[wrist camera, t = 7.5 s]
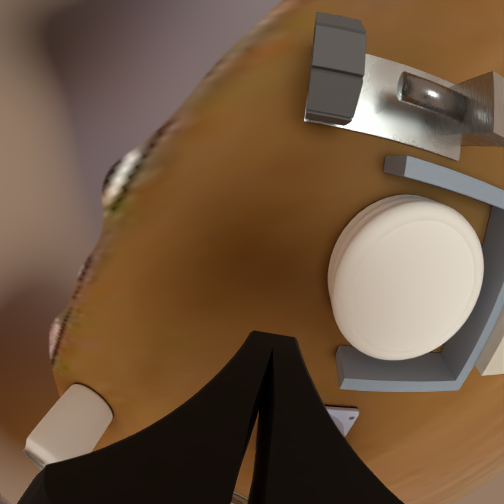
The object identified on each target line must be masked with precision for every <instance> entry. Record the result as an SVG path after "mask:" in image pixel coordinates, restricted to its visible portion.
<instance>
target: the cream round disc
mask: <svg viewBox="0 0 504 504" xmlns="http://www.w3.org/2000/svg"><path fill="white" fill-rule="evenodd" d="M483 273H484V260H483V253H482V248H481V245H480V241H479V239H478V237H477V235H476V233H475V231H474V229H473V228H472V227H471V225H470V224H469V222H468V221H467V220H466V219H465V218H464V217H463V216H462V215H461V214H460V213H458V212H457V211H456V210H454V209H453V208H451V207H449V206H447V205H445V204H442V203H439V202H437V201H434V200H431V199H429V198H426V197H422V196H418V195H409V194H406V195H395V196H391V197H387V198H384V199H382V200H379V201H377V202H375V203H373V204H371V205H369V206H367V207H366V208H365V209H363V210H362V211H361V212H359V213H358V214H357V215H356V216H355V217H354V218H353V219H352V220H351V221H350V222H349V224H348V225H347V226H346V227H345V228H344V230H343V231H342V233H341V235H340V236H339V238H338V240H337V242H336V244H335V246H334V249H333V252H332V255H331V258H330V263H329V268H328V289H329V295H330V299H331V304H332V309H333V314H334V318H335V321H336V323H337V325H338V327H339V330H340V331H341V333H342V334H343V336H344V337H345V338H346V339H347V340H348V341H349V342H350V343H351V345H352V346H354V347H355V348H356V349H358V350H359V351H361V352H362V353H364V354H366V355H368V356H371V357H374V358H378V359H383V360H405V359H410V358H414V357H417V356H421V355H423V354H426V353H428V352H430V351H432V350H434V349H435V348H437V347H439V346H440V345H442V344H443V343H445V342H446V341H447V340H448V339H450V338H451V337H452V336H453V335H454V334H455V333H456V332H457V331H458V330H459V329H460V328H461V326H462V325H463V324H464V323H465V321H466V320H467V318H468V317H469V315H470V314H471V312H472V310H473V308H474V306H475V304H476V301H477V299H478V296H479V293H480V290H481V286H482V281H483Z"/></svg>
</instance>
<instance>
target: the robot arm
mask: <svg viewBox="0 0 504 504" xmlns="http://www.w3.org/2000/svg"><path fill="white" fill-rule="evenodd" d="M258 411H259V417H258V429H257V441H256V450H255V463H254V472H253V479H252V484H251V489H250V493H249V498H248V502H247V504H404V503H403V502H402V501H401V500H400V499H398V498H397V497H396V496H395V495H394V494H393V493H392V492H391V491H390V490H389V489H388V488H386V487H385V486H384V484H383V483H382V482H381V481H380V480H379V479H378V478H377V477H376V476H375V475H374V474H373V472H372V471H371V470H370V469H369V468H368V467H367V466H366V465H365V464H364V463H363V461H362V460H361V459H360V458H359V457H358V455H357V454H356V453H355V451H354V450H353V449H352V447H351V446H350V445H349V443H348V442H347V441H346V439H345V436H346V435H347V433H348V432H349V430H350V428H351V427H352V425H353V424H354V422H355V420H356V419H357V417H358V415H359V410H358V409H356V408H340V407H327V406H325V405H324V404H323V402H322V400H321V398H320V396H319V394H318V392H317V390H316V388H315V386H314V383H313V381H312V379H311V377H310V375H309V372H308V370H307V368H306V365H305V362H304V360H303V357H302V354H301V351H300V348H299V345H298V341H297V340H296V338H295V337H289V336H283V335H277V334H271V333H265V332H259V331H253V332H251V333H250V334H249V336H248V337H247V339H246V341H245V342H244V344H243V345H242V346H241V348H240V349H239V350H238V352H237V353H236V354H235V355H234V357H233V358H232V359H231V360H230V361H229V362H228V363H227V364H226V365H225V367H224V368H223V369H222V370H221V371H220V372H219V373H218V374H217V375H216V376H215V377H214V378H213V379H212V380H211V381H210V382H208V383H207V384H206V385H205V386H204V387H203V388H202V389H201V390H200V391H199V392H197V393H196V394H195V395H194V396H193V397H191V398H190V399H189V400H188V401H186V402H185V403H184V404H182V405H181V406H179V407H178V408H177V409H175V410H174V411H173V412H171V413H170V414H168V415H166V416H165V417H163V418H162V419H160V420H158V421H157V422H155V423H154V424H152V425H150V426H149V427H147V428H145V429H143V430H141V431H139V432H138V433H136V434H134V435H131V436H129V437H127V438H125V439H123V440H120V441H118V442H116V443H114V444H111V445H109V446H107V447H104V448H102V449H99V450H97V451H94V452H91V453H88V454H84V455H81V456H77V457H74V458H70V459H67V460H63V461H59V462H55V463H51V464H47V465H46V466H45V467H44V469H43V470H42V471H41V472H40V473H39V474H38V475H37V476H36V477H35V478H34V479H33V481H32V482H31V484H30V485H29V487H28V488H27V490H26V491H25V492H24V494H23V496H22V497H21V498H20V500H19V501H18V503H17V504H231V501H232V497H233V493H234V489H235V485H236V481H237V477H238V473H239V470H240V466H241V463H242V461H243V458H244V455H245V452H246V449H247V446H248V443H249V440H250V437H251V434H252V430H253V427H254V424H255V421H256V418H257V415H258ZM0 504H11V503H10V502H9V501H8V500H6V499H5V498H4V497H3V496H2V495H1V494H0Z"/></svg>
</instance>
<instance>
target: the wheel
mask: <svg viewBox="0 0 504 504" xmlns="http://www.w3.org/2000/svg"><path fill="white" fill-rule="evenodd" d="M365 34H366V31H365V29H364V27H363V25H362V23H361V21H360V20H357V19H352V18H348V17H343V16H338V15H332V14H327V13H320V12H316V20H315V28H314V38H313V47H312V56H311V66H310V75H309V84H308V93H307V102H306V112H305V119H310V120H316V121H321V122H327V123H332V124H337V125H342V126H346V125H347V124H349V123H350V122H352V119H353V118H354V115H355V111H356V108H357V104H358V100H359V97H360V93H361V89H362V85H363V76H364V74H365V58H366V35H365Z"/></svg>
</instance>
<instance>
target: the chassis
mask: <svg viewBox="0 0 504 504" xmlns="http://www.w3.org/2000/svg"><path fill="white" fill-rule="evenodd" d="M383 172H385V173H389V174H393V175H397V176H401V177H405V178H408V179H412V180H416V181H419V182H423V183H426V184H430V185H433V186H436V187H440V188H443V189H446V190H449V191H452V192H455V193H458V194H461V195H464V196H467V197H470V198H473V199H476V200H478V201H481V202H484V203H487V204H489V205H492V208H491V213H490V218H489V222H488V226H487V230H486V234H485V238H484V242H483V246H482V253H483V260H484V273H483V281H482V286H481V290H480V293H479V296H478V299H477V301H476V304H475V306H474V308H473V310H472V312H471V314H470V315H469V317H468V318H467V320H466V321H465V323H464V324H463V325H462V326H461V328H460V329H459V330H458V331H457V332H456V333H455V334H454V335H453V336H452V337H451V338H450V339H448V340H447V341H446V342H445V344H444V346H443V348H442V350H441V352H440V353H430V352H428V353H426V354H423V355H421V356H417V357H414V358H410V359H405V360H383V359H378V358H374V357H371V356H368V355H366V354H364V353H362V352H361V351H359V350H358V349H356V348H355V347H351V346H342V345H339V347H338V350H337V352H336V355H335V357H336V365H337V372H338V380H339V388H340V389H346V390H360V391H383V392H430V391H451V390H459V389H460V387H461V385H462V384H463V382H464V381H465V379H466V378H467V376H468V374H469V373H470V371H471V369H472V368H473V366H474V365H475V366H476V368H477V369H478V371H479V373H480V374H481V376H484V375H495V374H504V191H503V190H501V189H499V188H497V187H494V186H492V185H490V184H487V183H485V182H482V181H480V180H477V179H475V178H472V177H470V176H467V175H464V174H462V173H459V172H456V171H454V170H451V169H448V168H445V167H442V166H439V165H436V164H433V163H430V162H427V161H424V160H420V159H417V158H414V157H410V156H385V163H384V169H383Z"/></svg>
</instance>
